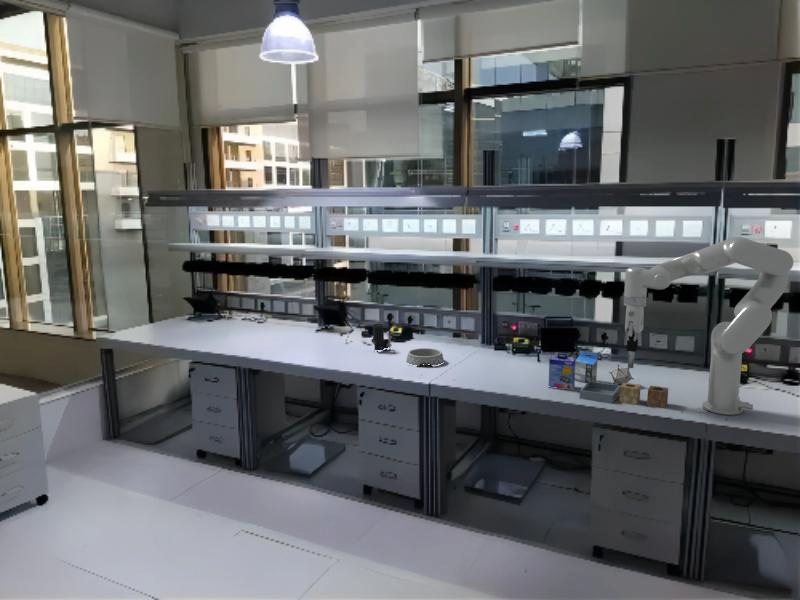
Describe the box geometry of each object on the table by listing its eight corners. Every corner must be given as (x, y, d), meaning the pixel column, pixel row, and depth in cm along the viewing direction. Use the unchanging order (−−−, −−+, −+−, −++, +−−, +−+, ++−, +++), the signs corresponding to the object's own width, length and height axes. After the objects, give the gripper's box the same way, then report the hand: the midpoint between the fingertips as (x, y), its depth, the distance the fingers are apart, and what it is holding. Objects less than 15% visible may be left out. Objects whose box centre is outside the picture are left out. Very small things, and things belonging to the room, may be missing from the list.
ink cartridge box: (547, 388, 235) (548, 353, 232) (549, 384, 240) (550, 350, 237) (573, 390, 231) (574, 355, 229) (574, 386, 236) (576, 352, 234)
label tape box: (572, 380, 245) (573, 351, 243) (578, 378, 248) (579, 350, 246) (591, 384, 238) (592, 355, 237) (596, 382, 241) (598, 353, 239)
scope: (391, 323, 298) (380, 327, 290) (391, 349, 301) (381, 354, 292) (378, 322, 303) (367, 325, 294) (378, 348, 305) (367, 352, 296)
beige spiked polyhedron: (616, 392, 240) (609, 369, 244) (637, 387, 236) (630, 364, 241) (611, 387, 233) (605, 364, 237) (633, 381, 229) (626, 358, 234)
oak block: (639, 400, 219) (640, 384, 218) (636, 404, 214) (637, 389, 213) (622, 397, 222) (623, 382, 221) (619, 402, 217) (620, 386, 216)
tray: (620, 393, 227) (620, 385, 227) (612, 403, 215) (612, 395, 215) (589, 388, 233) (589, 381, 233) (579, 398, 222) (579, 390, 221)
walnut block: (667, 403, 215) (668, 387, 214) (664, 408, 210) (665, 392, 209) (649, 400, 218) (650, 385, 217) (647, 405, 213) (647, 389, 212)
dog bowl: (445, 367, 267) (445, 356, 266) (405, 368, 267) (405, 356, 267) (443, 358, 284) (443, 347, 283) (405, 358, 284) (405, 347, 283)
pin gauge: (634, 367, 216) (636, 335, 214) (632, 368, 215) (635, 336, 213) (628, 366, 217) (630, 335, 215) (627, 367, 216) (629, 336, 214)
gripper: (641, 305, 203) (638, 356, 206) (649, 299, 217) (646, 347, 219) (619, 303, 207) (616, 353, 210) (628, 297, 220) (625, 344, 223)
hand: (632, 350), depth 215 cm, fingers closed on pin gauge, 2 cm apart
